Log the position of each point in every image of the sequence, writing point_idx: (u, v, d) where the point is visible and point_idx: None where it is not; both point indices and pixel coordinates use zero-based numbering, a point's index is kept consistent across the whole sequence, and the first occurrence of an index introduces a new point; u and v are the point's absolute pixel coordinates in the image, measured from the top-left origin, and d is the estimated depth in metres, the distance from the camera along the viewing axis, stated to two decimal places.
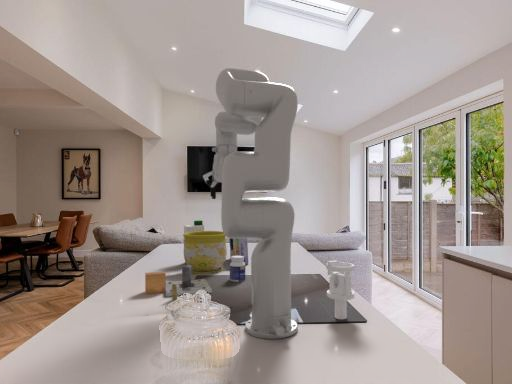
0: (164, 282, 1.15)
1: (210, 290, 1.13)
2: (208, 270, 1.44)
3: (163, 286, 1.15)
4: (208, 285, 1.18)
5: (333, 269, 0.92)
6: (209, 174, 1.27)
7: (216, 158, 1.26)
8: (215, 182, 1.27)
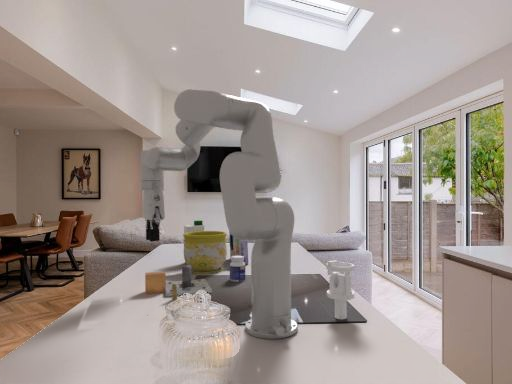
0: (164, 282, 1.15)
1: (210, 290, 1.13)
2: (208, 270, 1.44)
3: (163, 286, 1.15)
4: (208, 285, 1.18)
5: (333, 269, 0.92)
6: None
7: (162, 194, 1.20)
8: None
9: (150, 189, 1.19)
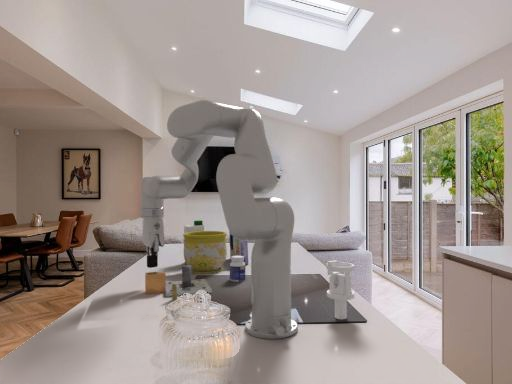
0: (164, 282, 1.15)
1: (210, 290, 1.13)
2: (208, 270, 1.44)
3: (163, 286, 1.15)
4: (208, 285, 1.18)
5: (333, 269, 0.92)
6: None
7: (162, 222, 1.20)
8: None
9: (150, 217, 1.19)
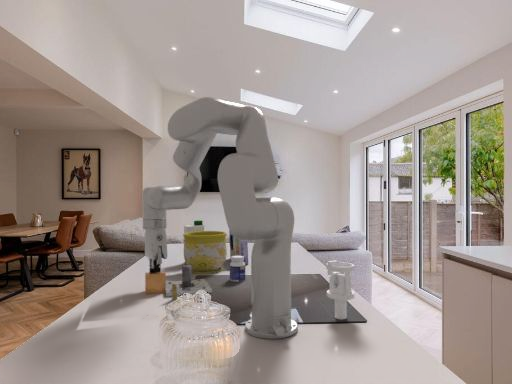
0: (164, 282, 1.15)
1: (210, 290, 1.13)
2: (208, 270, 1.44)
3: (163, 286, 1.14)
4: (208, 285, 1.18)
5: (333, 269, 0.92)
6: None
7: (165, 233, 1.16)
8: None
9: (152, 228, 1.15)
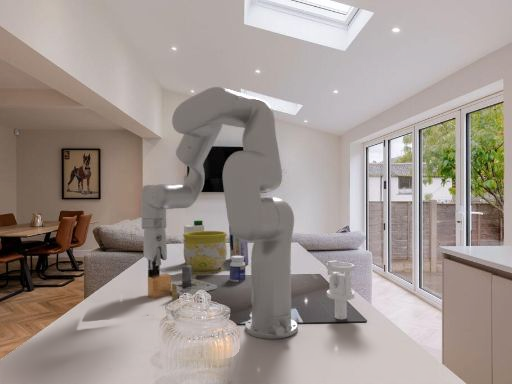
0: (169, 284, 1.12)
1: (215, 286, 1.18)
2: (208, 270, 1.44)
3: (169, 288, 1.12)
4: None
5: (333, 269, 0.92)
6: None
7: (165, 234, 1.11)
8: None
9: (151, 228, 1.10)
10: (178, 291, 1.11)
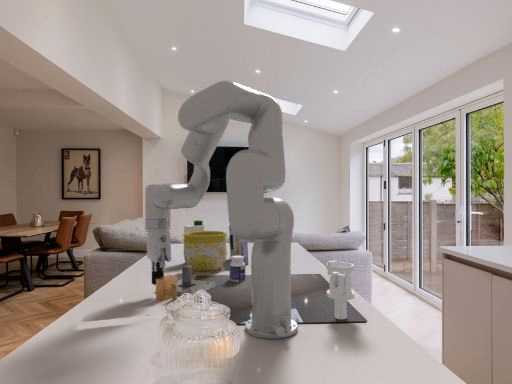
0: None
1: (215, 284, 1.21)
2: (208, 270, 1.44)
3: None
4: (204, 281, 1.23)
5: (333, 269, 0.92)
6: None
7: (169, 234, 1.08)
8: None
9: (155, 229, 1.07)
10: (186, 291, 1.11)
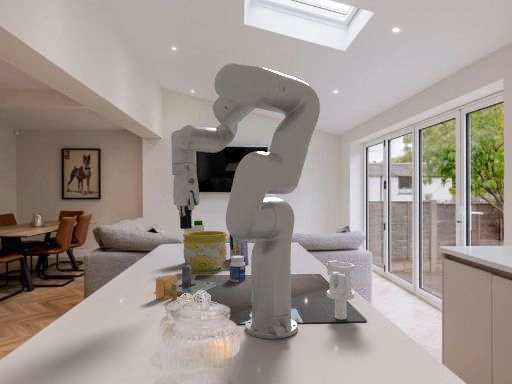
0: None
1: (215, 284, 1.21)
2: (208, 270, 1.44)
3: None
4: (204, 281, 1.23)
5: (333, 269, 0.92)
6: None
7: (196, 178, 1.11)
8: None
9: (183, 172, 1.09)
10: (186, 291, 1.11)
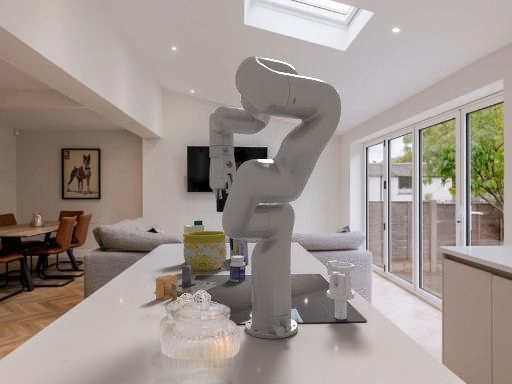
0: None
1: (215, 284, 1.21)
2: (208, 270, 1.44)
3: None
4: (204, 281, 1.23)
5: (333, 269, 0.92)
6: None
7: (234, 161, 1.09)
8: None
9: (222, 155, 1.08)
10: (186, 291, 1.11)
